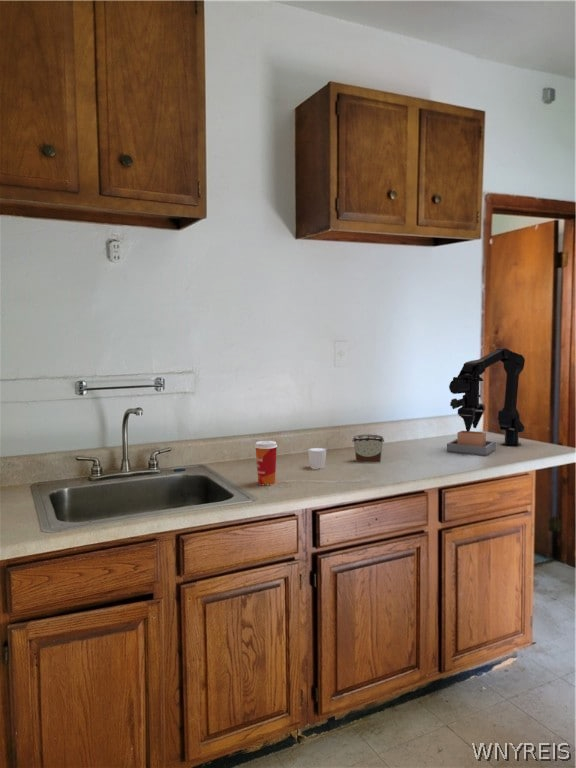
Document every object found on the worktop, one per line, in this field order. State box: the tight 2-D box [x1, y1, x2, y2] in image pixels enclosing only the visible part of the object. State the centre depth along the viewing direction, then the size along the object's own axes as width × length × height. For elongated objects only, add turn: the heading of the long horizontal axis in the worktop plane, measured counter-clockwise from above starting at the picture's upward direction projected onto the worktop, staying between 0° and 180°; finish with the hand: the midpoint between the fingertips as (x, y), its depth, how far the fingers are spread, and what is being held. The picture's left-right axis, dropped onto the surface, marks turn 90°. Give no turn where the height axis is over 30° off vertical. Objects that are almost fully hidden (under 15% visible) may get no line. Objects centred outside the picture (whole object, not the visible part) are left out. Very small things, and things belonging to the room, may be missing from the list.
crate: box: [446, 438, 496, 457], centre depth 240 cm, size 14×16×4 cm
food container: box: [352, 433, 385, 463], centre depth 225 cm, size 12×6×10 cm, turn 84°
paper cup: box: [254, 440, 278, 485], centre depth 193 cm, size 8×8×14 cm
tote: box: [456, 430, 487, 447], centre depth 240 cm, size 6×10×7 cm, turn 56°
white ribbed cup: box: [307, 447, 327, 470], centre depth 215 cm, size 7×7×7 cm
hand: (471, 429), depth 239 cm, fingers open, 9 cm apart
